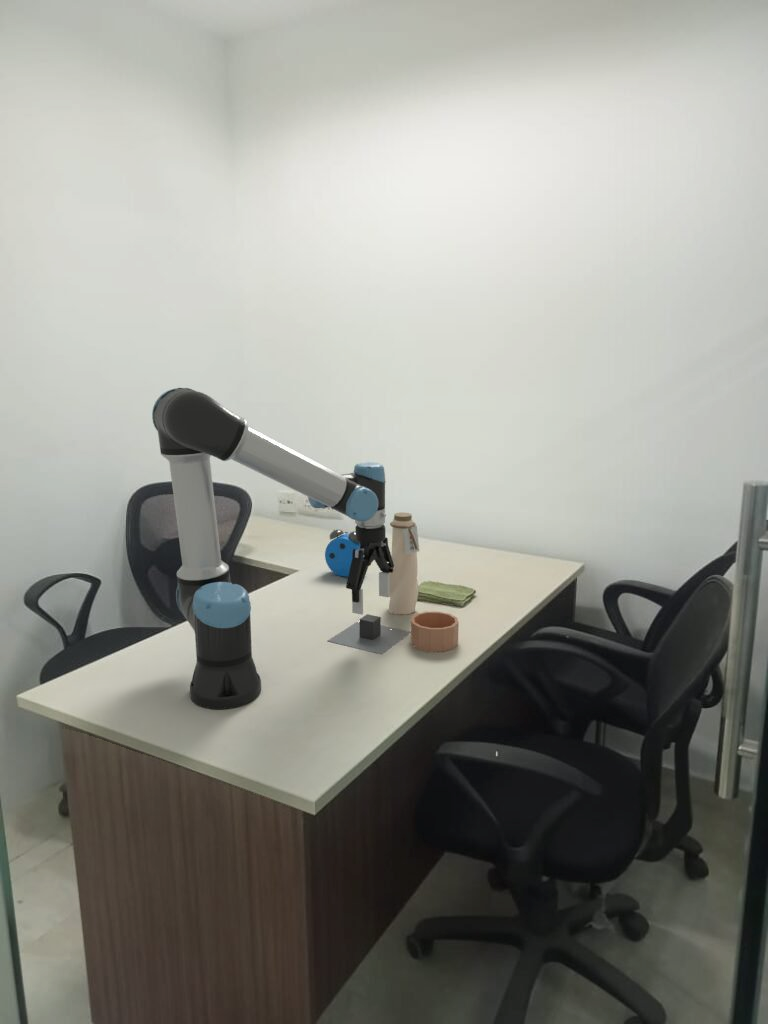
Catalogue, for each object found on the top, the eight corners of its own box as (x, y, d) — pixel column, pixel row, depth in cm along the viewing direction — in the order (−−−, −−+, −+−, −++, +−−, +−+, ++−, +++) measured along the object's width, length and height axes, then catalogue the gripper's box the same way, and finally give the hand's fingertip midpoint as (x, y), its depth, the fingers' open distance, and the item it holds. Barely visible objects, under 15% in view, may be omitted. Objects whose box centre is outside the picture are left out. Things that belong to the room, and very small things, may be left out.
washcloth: (463, 609, 208) (464, 599, 207) (407, 600, 215) (407, 590, 214) (477, 595, 219) (477, 585, 218) (423, 587, 226) (423, 577, 225)
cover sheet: (381, 657, 177) (382, 635, 175) (327, 643, 184) (327, 622, 183) (411, 634, 190) (411, 613, 189) (359, 622, 198) (359, 603, 197)
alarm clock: (368, 574, 237) (368, 530, 233) (360, 580, 231) (360, 535, 228) (332, 569, 241) (332, 526, 238) (324, 575, 236) (323, 530, 232)
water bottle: (427, 610, 205) (429, 515, 199) (406, 619, 199) (408, 520, 192) (400, 601, 212) (402, 509, 206) (379, 609, 206) (380, 514, 199)
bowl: (445, 655, 176) (446, 632, 175) (403, 645, 182) (403, 623, 180) (464, 638, 186) (465, 616, 185) (423, 629, 192) (423, 608, 190)
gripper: (357, 538, 168) (359, 623, 173) (406, 515, 189) (406, 591, 194) (330, 534, 171) (332, 618, 176) (381, 512, 193) (382, 587, 198)
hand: (371, 604), depth 185 cm, fingers open, 13 cm apart
